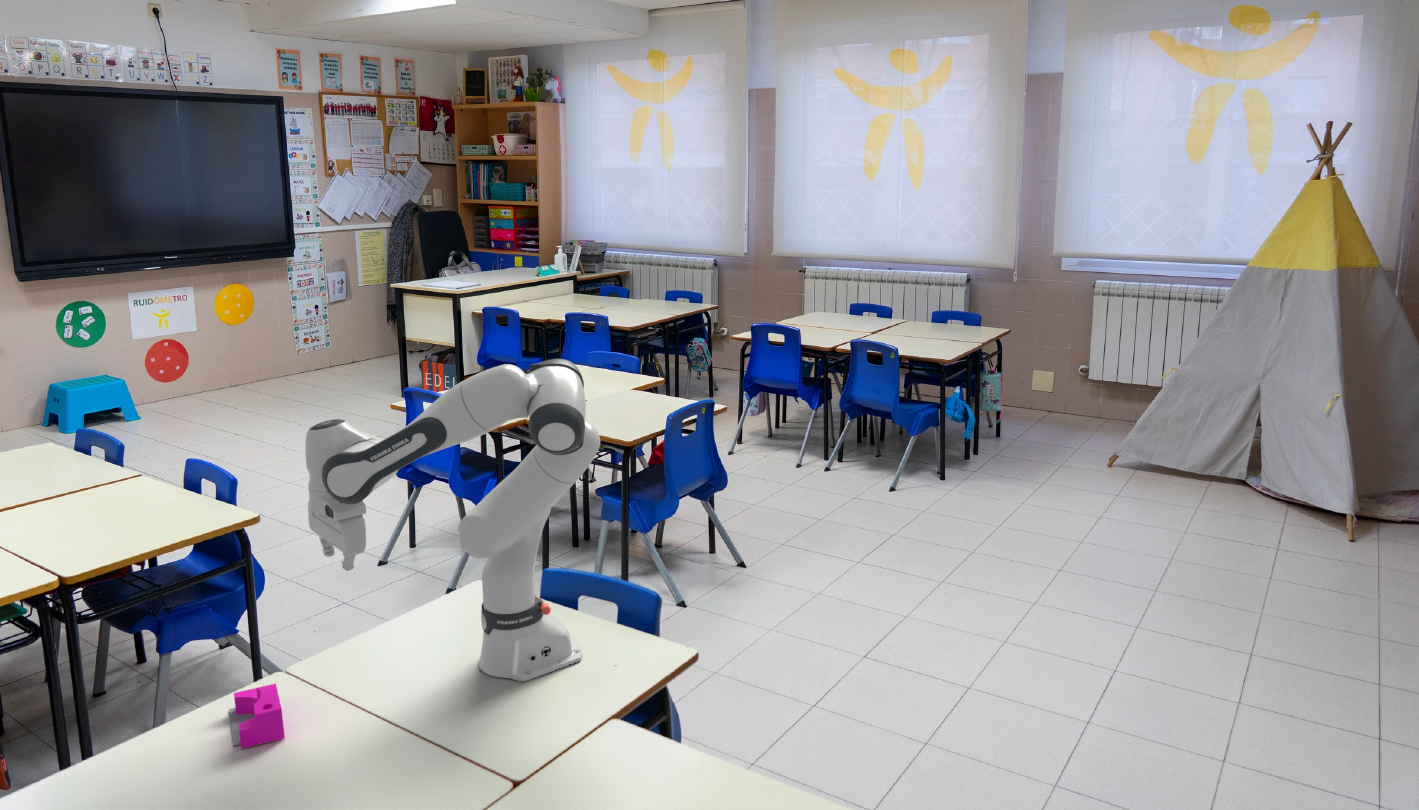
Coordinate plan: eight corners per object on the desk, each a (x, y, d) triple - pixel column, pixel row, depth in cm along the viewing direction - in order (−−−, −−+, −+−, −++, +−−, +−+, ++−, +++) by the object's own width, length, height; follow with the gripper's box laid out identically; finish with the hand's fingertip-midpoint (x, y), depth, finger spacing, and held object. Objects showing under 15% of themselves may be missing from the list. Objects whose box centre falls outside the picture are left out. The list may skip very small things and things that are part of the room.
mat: (272, 700, 199) (272, 699, 199) (279, 735, 187) (279, 734, 187) (229, 710, 195) (229, 709, 195) (233, 746, 183) (233, 745, 183)
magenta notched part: (281, 708, 184) (237, 719, 181) (284, 737, 186) (241, 748, 182) (273, 672, 197) (232, 681, 193) (276, 700, 198) (235, 709, 195)
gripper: (297, 489, 202) (303, 551, 205) (338, 515, 187) (344, 581, 191) (327, 482, 206) (332, 543, 209) (370, 508, 192) (375, 573, 195)
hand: (338, 562), depth 200 cm, fingers open, 8 cm apart
